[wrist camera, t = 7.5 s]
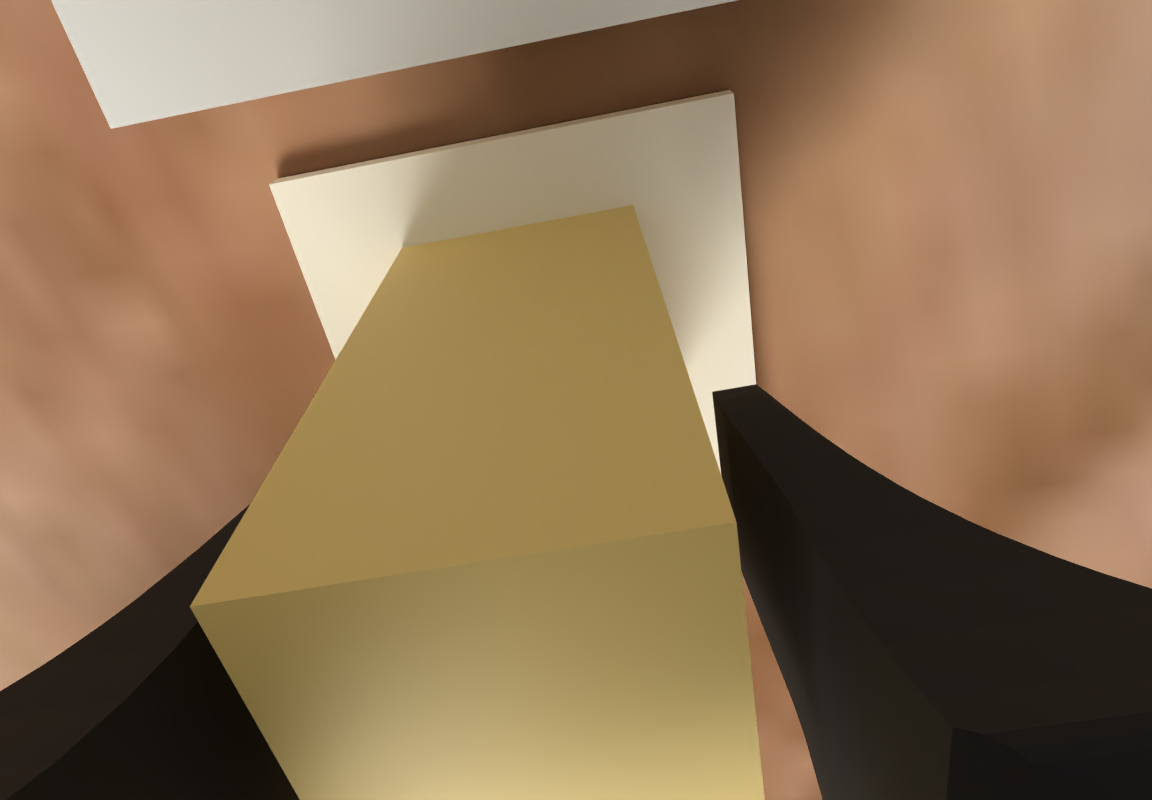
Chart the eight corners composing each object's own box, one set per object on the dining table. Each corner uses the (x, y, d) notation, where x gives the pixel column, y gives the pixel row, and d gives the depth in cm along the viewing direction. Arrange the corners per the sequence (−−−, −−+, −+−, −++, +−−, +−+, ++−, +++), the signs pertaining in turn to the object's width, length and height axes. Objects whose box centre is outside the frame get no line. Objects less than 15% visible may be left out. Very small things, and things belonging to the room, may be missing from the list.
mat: (729, 89, 13) (734, 93, 13) (759, 472, 17) (763, 483, 17) (276, 178, 14) (269, 184, 13) (406, 529, 17) (403, 540, 17)
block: (632, 204, 13) (736, 522, 6) (662, 409, 15) (770, 855, 8) (401, 247, 14) (190, 607, 6) (460, 442, 16) (360, 907, 8)
